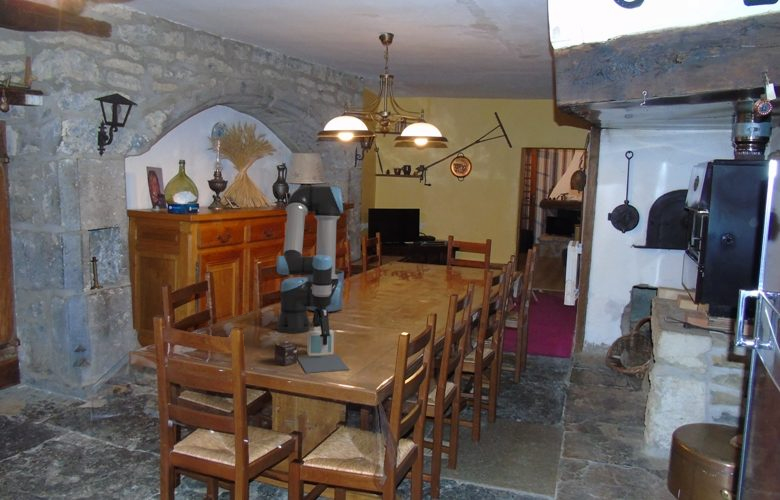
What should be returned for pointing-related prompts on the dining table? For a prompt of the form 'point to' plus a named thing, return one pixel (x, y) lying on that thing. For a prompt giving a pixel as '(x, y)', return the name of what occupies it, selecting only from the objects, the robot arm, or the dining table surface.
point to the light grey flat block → (318, 343)
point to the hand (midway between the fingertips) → (320, 347)
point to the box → (285, 353)
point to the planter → (340, 278)
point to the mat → (322, 363)
